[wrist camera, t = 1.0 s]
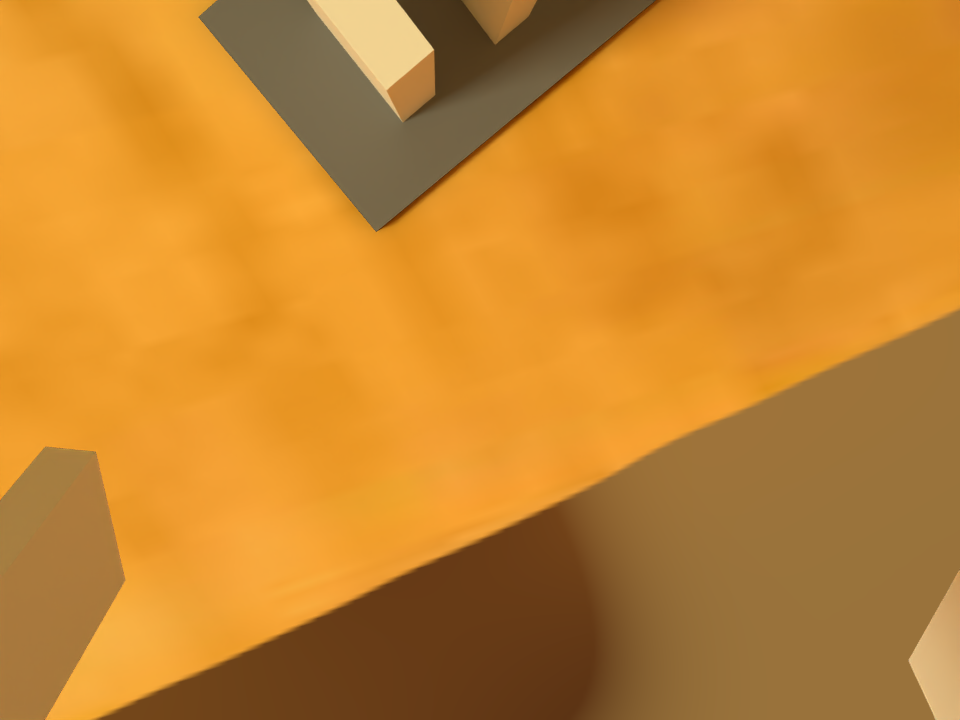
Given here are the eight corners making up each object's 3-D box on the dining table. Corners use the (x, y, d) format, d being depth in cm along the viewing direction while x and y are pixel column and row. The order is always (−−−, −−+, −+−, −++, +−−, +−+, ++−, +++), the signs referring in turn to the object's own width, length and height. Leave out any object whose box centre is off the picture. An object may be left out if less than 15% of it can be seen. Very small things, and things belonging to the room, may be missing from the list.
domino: (402, 122, 30) (386, 90, 21) (315, 12, 29) (254, -77, 20) (435, 94, 30) (434, 49, 21) (348, -17, 29) (303, -121, 20)
